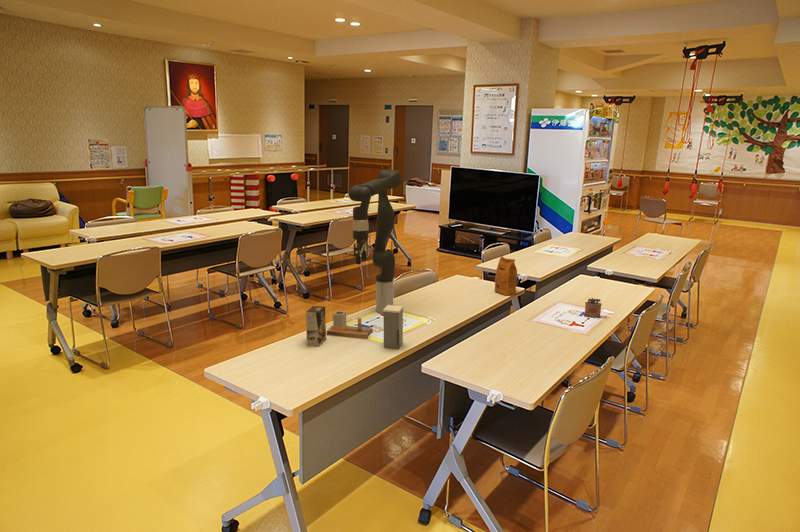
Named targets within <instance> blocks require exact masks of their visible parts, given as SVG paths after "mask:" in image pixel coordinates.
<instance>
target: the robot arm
mask: <svg viewBox="0 0 800 532" xmlns="http://www.w3.org/2000/svg"><path fill="white" fill-rule="evenodd" d="M402 180H403V179H402V174H401V172H400V171H398V170H394V169H381V170H380V171H379V173H378V178H376V179H371V180H369V181H367V182H364V183H361V184H355V185H353V186H352V187H350V189H349V191H348V198H349V199H350V200H351V201H353V202H359V203H360V202H361V203H360V205H359V206H354V207H353V209H352V239H353V240H356V242H354V243H353V256H354V257H355V264H356V265H361V263H362V261H366V260H367V252H368V251H369V241H368V240H369V238H370V237H369V234H370V233H369V232H370V231H369V230H370V229H369V213H368V212H369V207H370V201H371V200H372V197H374V196H376V195H377V194H378V195H377V197H378V200H377V214H376V215H377V216H376V227H375V228H376V230H375V240H374V245H373V252H372V263H373V265H374V267H377V268H381V273H378V274H376V275H375V312H376V313H377V314H383V310H384V308H385V307H386V306H387V305H394V277H395V269H396V257H395V255H394V253H393V252H391V251H387V250H386V243H387V240H388V238H389V236H390V234H391V233H392V232H393V230H394V227H395V220H396V219H395V217H396V216H395V214H396V213H395V209H393V206H392V204H391V202H390V199H389V197H388V190H392V189H398V188H399V187H400V185H401V184H402ZM361 260H362V261H361Z"/></svg>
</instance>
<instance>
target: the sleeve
mask: <svg viewBox="0 0 800 532" xmlns="http://www.w3.org/2000/svg"><path fill="white" fill-rule="evenodd" d="M332 322H333V323H332V326H333V330H338V331H344V330H345V329H346V328H347V326H348V324H347V311H344V310H342V311H341V310H335V312H334V313H333V314H332Z"/></svg>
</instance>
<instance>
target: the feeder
mask: <svg viewBox="0 0 800 532" xmlns="http://www.w3.org/2000/svg"><path fill="white" fill-rule="evenodd" d="M403 308H404V306H403V305H394V304H393V305H387V306H386V307H385V308H384V310H383V315H382V316H383V348H385V349H394V350H395V349H396V350H399V349H401V347H402V345H403V344H404V339H403V337H404V333H403V332H404V326H403V325H404V320H403V319H404V309H403Z"/></svg>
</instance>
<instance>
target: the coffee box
mask: <svg viewBox="0 0 800 532" xmlns="http://www.w3.org/2000/svg"><path fill="white" fill-rule="evenodd" d="M326 317H327V316H326V306H322V305H321V306H319V305H317V306H316V305H312V306H311V307H309V308H308V309H307V310H306V311H305V324H306V325H305V326H306V346H313V347H320V346H321V345H323V343H324V342H325V341H326V340H327V327H326V326H327V322H326V319H327V318H326Z"/></svg>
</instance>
